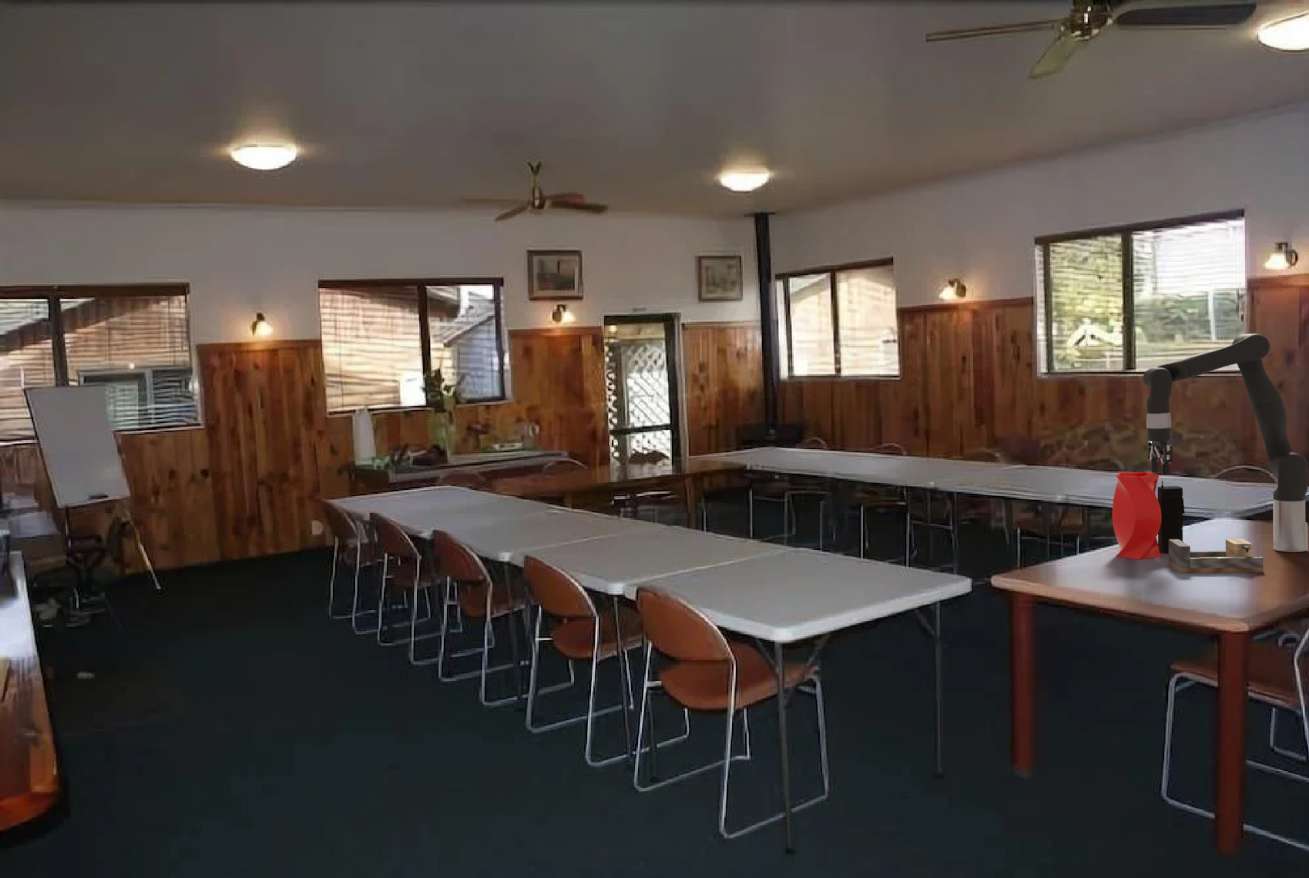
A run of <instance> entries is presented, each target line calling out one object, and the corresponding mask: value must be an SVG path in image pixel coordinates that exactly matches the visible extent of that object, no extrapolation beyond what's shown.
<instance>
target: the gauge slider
mask: <svg viewBox="0 0 1309 878" xmlns="http://www.w3.org/2000/svg"><path fill="white" fill-rule="evenodd" d="M1225 551H1226V557H1253V543H1251V542H1250V541H1247V540H1246V539H1243V538H1234V539H1233V538H1229V539H1228V538H1226V539H1225Z"/></svg>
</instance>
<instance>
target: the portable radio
mask: <svg viewBox="0 0 1309 878" xmlns="http://www.w3.org/2000/svg"><path fill="white" fill-rule="evenodd" d="M1183 491H1184V490H1183V487H1181V486H1179V485H1171V486H1170V485H1169V486H1167V485H1166V486H1165V485H1164V480H1161V486H1157V499H1158V502H1159V505H1160V509H1161V525H1160V529H1159V532H1158V534H1157V542H1158V547H1159V552H1160V553H1163V554H1169V539H1179V540H1181V541H1182V542H1184V534H1183V533H1184V532H1183V531H1184V527H1183V525H1184V524H1183V520H1184V518H1183V517H1184V514H1186V513H1185V504H1184V497H1183V496H1184V493H1183Z"/></svg>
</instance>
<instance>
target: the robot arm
mask: <svg viewBox="0 0 1309 878" xmlns="http://www.w3.org/2000/svg"><path fill="white" fill-rule="evenodd" d="M1270 349H1271V344H1270V341H1269V340H1268V338H1267V337H1266V336H1264V335H1262V334H1259V333H1243V334H1240V335H1238V336H1236V337H1235V338H1234V339H1233V340H1232V343H1231V344H1230V345H1228V346H1225V347H1222V348H1219V349H1214V350H1211V351H1210V350H1209V351H1205V352H1202V353H1198V354H1194V355H1190V356H1187V357H1184V358H1182V359H1178V360H1176V361H1174V362H1173V361H1172V362H1168V363H1165V364H1161V365H1157V366H1154V367H1151V368H1149V369H1147V370H1146V371H1145V372H1144V373H1143V376H1142V381H1143V383H1144V385H1146V387H1148V388H1150V391H1149V392H1150V393H1149V394H1150V395H1149V396H1148V397H1147V399H1146V440H1147V443H1146V444H1147V446H1146V447H1147V449H1146V451H1147V452H1146V453H1147V460H1149V461H1150V473H1159V460H1160V462H1161V474H1162V476H1169V475H1170V464H1171V463H1173V462H1174V459H1173V447H1172V444H1168V443H1167V442H1168V441H1171V440H1172V417H1171V413H1170V412H1171V410H1170V409H1171V405H1170V403H1171V402H1170V399H1171V398H1170V397H1171V393H1172V387H1173V383H1174V382H1177V381H1186V380H1189V379H1193V378H1195V377H1199V376H1202V375H1204V374H1207V373H1210V372H1213V371H1215V370H1219V369H1222V368H1225V367H1228V366H1229V367H1230V366H1232V365H1237V367H1238V369H1239V372H1240V374H1241V376H1242V379H1243V382H1244V385H1245V388H1246V392H1247V394H1248V398H1249V401H1250V405H1251V408H1252V411H1253V415H1254V418H1255V420H1256V422H1257V425H1258V429H1259V431H1260V434H1261V436H1262V439H1263V443H1264V446H1265V451H1266V454H1267V455H1266V457H1267V462H1268V465H1269V469H1270V471H1271V473H1272V474H1273V475H1274V476H1275V477H1277V488H1276V489H1275V490H1273V493H1272V496H1273V497H1272V498H1273V499H1272V500H1273V501H1272V502H1273V505H1272V506H1273V507H1272V508H1273V509H1272V511H1273V512H1272V513H1273V514H1272V515H1273V517H1272V519H1273V520H1272V521H1273V522H1272V523H1273V525H1272V528H1273V535H1272V536H1273V539H1272V541H1273V543H1272V544H1273V550H1275V551H1278V552H1286V553H1301V552H1308V551H1309V545H1308V544H1309V542H1308V541H1309V538H1308V537H1309V533H1308V532H1309V531H1308V529H1309V523H1308V522H1306V494H1307V492H1308V489H1309V485H1308V484H1309V465H1308V461H1307V459H1306V458H1305V457H1304V456H1303V455H1301V454H1299V453H1296V452H1294V451H1293V449H1292V447H1291V444H1290V441H1289V438H1288V433H1287V424H1288V423H1287V422H1288V419H1287V418H1288V416H1287V415H1288V414H1287V410H1286V406H1285V403H1284V400H1283V397H1282V395H1281V394H1282V393H1281V392H1280V391H1279V388H1278V387H1277V386H1276V385H1275V383H1274V382H1273V380H1272V379H1271V378H1270V377H1269V375H1268V373H1267V372H1266V369H1265V367H1264V364H1263V360H1262V359H1264V358H1265V357H1267V355H1268V354H1269V352H1270V351H1271V350H1270Z"/></svg>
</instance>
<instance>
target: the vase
mask: <svg viewBox="0 0 1309 878" xmlns="http://www.w3.org/2000/svg"><path fill="white" fill-rule="evenodd" d="M1115 477H1116V478H1117V482H1116V485H1115V490H1114V495H1113V501H1112V509H1111V510H1112V512H1111V514H1112V526H1113V531H1114V534H1115V537H1116V541H1117V543H1118V545H1119V548H1120V551H1119V552H1118V553H1117V554H1116V555H1115V557H1119V558H1127V559H1133V560H1146V559H1147V560H1149V559H1152V558H1153V559H1154V558H1155V559H1156V558H1161V557H1162V555H1161V552H1160V551H1159V547H1158V532H1159V529H1160V525H1161V509H1160V505H1159V502H1158V496H1157V495H1156V491H1157V487H1158V486H1157V485H1158V480H1159V478H1160V474H1157V473H1155V472H1151V471H1125V472H1124V471H1123V472H1122V471H1121V472H1119V473H1117V474H1115Z"/></svg>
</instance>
